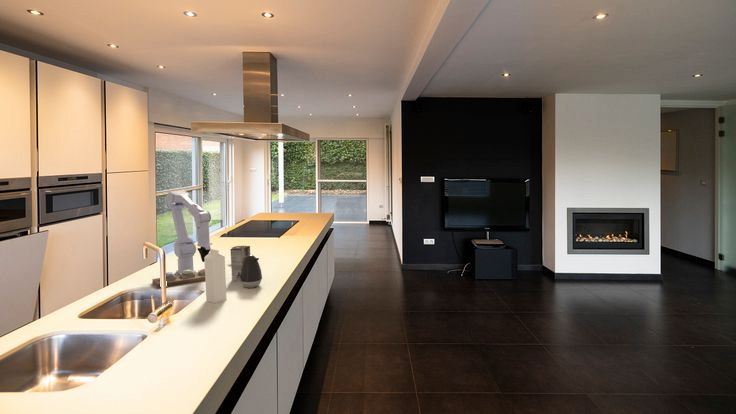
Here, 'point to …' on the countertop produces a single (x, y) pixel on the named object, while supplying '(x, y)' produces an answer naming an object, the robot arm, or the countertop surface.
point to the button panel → (181, 279)
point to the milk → (215, 277)
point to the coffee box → (238, 260)
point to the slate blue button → (169, 274)
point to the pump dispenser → (250, 272)
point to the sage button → (187, 272)
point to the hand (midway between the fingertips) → (204, 261)
